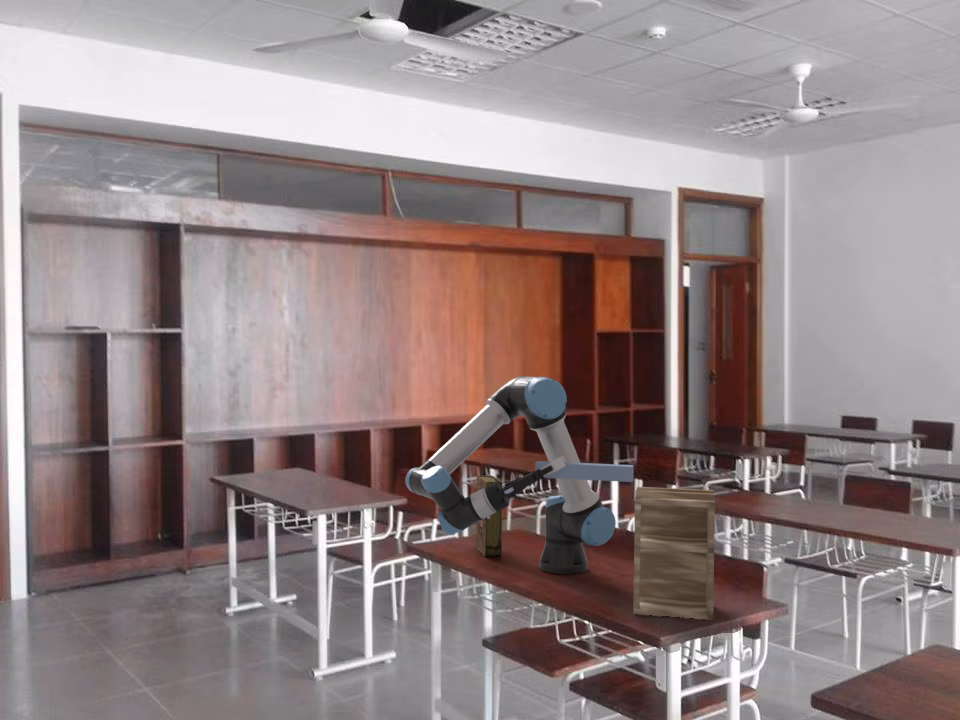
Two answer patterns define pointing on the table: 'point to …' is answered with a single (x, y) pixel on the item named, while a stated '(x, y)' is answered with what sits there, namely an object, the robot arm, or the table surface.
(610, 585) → the table surface
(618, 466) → the block
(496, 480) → the book
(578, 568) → the robot arm
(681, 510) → the shelf stand
